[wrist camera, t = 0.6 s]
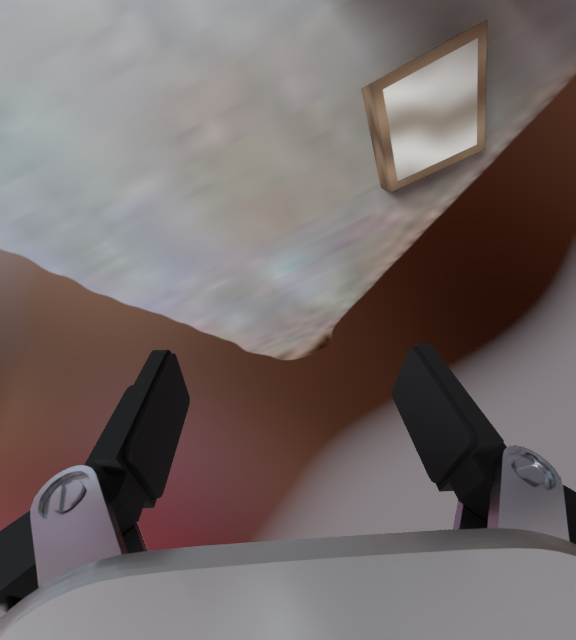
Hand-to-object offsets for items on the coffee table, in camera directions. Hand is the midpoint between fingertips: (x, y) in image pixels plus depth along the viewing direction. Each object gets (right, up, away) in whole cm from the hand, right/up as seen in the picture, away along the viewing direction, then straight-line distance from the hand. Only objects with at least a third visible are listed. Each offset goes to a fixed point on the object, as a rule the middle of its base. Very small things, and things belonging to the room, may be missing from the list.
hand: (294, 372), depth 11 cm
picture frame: (+17, +28, +23) cm, 40 cm away
